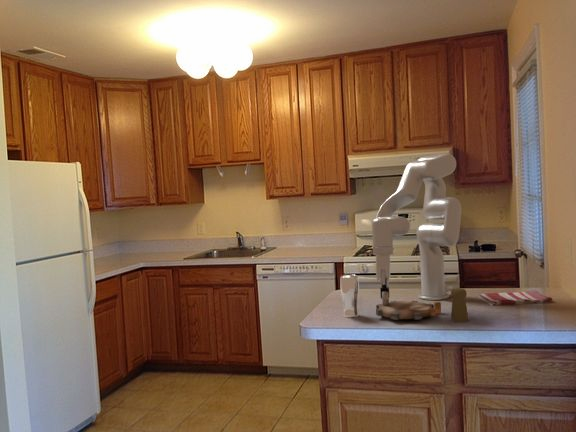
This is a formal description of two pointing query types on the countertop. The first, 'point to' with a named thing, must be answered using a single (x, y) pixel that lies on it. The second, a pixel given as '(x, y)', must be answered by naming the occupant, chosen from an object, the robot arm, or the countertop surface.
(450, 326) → the countertop surface
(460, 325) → the countertop surface
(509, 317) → the countertop surface
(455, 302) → the cork
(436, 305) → the orange wooden block
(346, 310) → the beer glass
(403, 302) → the sprocket wheel
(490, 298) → the dish towel
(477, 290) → the countertop surface
